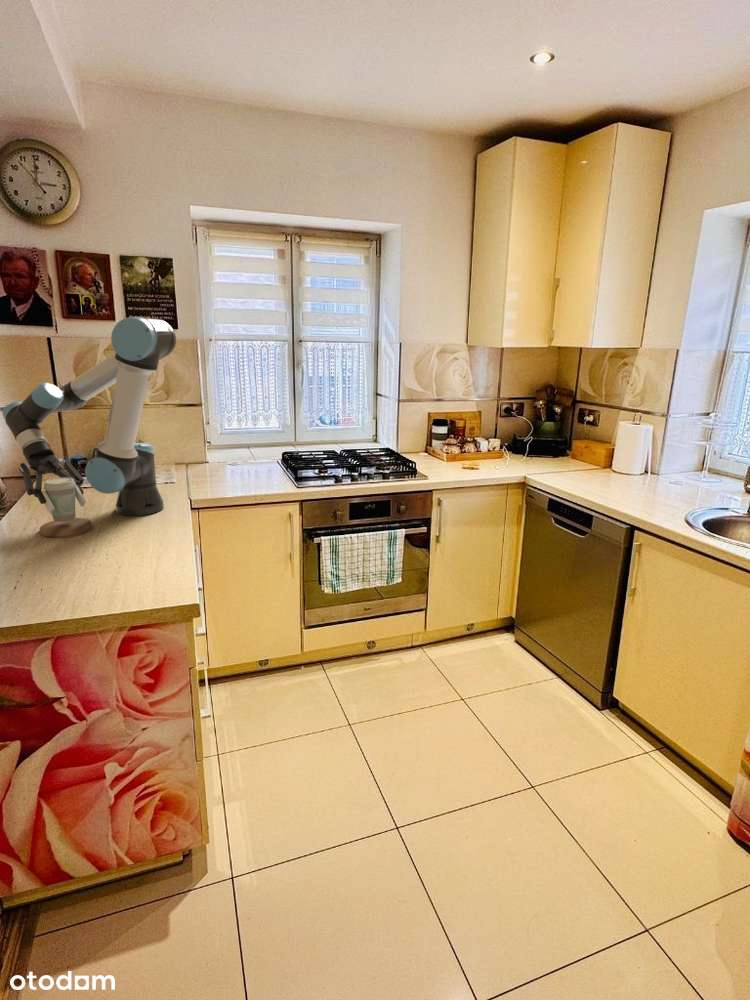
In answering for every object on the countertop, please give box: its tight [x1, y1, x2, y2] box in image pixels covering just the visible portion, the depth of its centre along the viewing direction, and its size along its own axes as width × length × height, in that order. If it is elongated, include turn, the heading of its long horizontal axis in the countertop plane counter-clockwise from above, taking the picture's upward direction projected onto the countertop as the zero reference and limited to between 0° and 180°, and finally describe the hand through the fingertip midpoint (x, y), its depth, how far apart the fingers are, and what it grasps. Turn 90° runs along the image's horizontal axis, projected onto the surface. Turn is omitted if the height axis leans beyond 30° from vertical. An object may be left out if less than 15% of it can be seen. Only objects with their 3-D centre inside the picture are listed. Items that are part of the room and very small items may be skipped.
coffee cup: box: [43, 477, 76, 522], centre depth 167 cm, size 8×9×12 cm
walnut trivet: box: [39, 517, 93, 539], centre depth 169 cm, size 14×14×2 cm
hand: (68, 507), depth 166 cm, fingers closed on coffee cup, 8 cm apart
